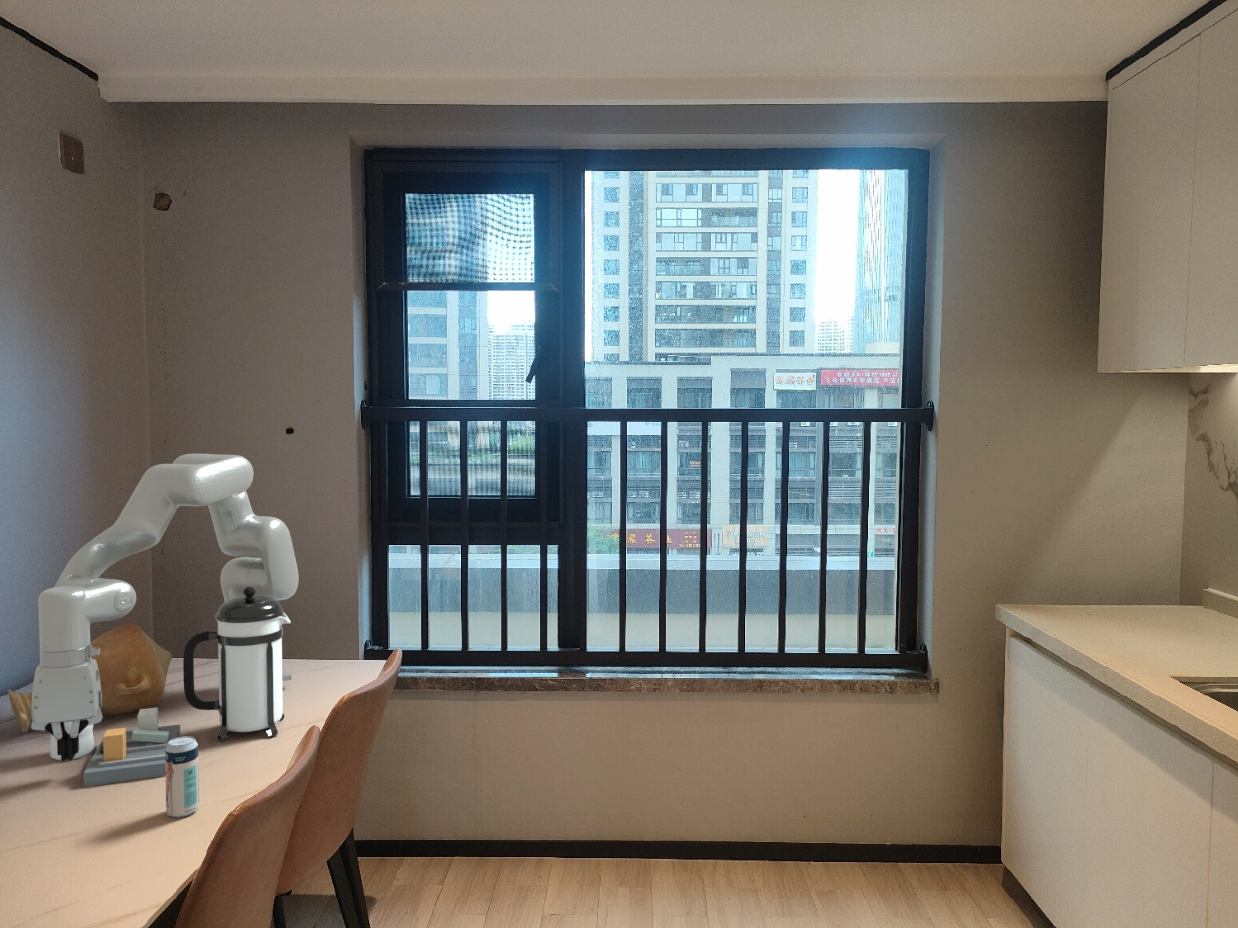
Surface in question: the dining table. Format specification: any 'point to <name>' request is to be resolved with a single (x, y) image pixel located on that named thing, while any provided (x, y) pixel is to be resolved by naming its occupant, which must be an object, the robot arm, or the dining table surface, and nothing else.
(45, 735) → the dining table surface
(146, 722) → the ivory fader
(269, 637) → the coffee press
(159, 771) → the panel
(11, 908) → the dining table surface
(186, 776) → the beer can
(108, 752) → the orange fader
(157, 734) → the block
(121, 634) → the jug
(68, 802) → the dining table surface
